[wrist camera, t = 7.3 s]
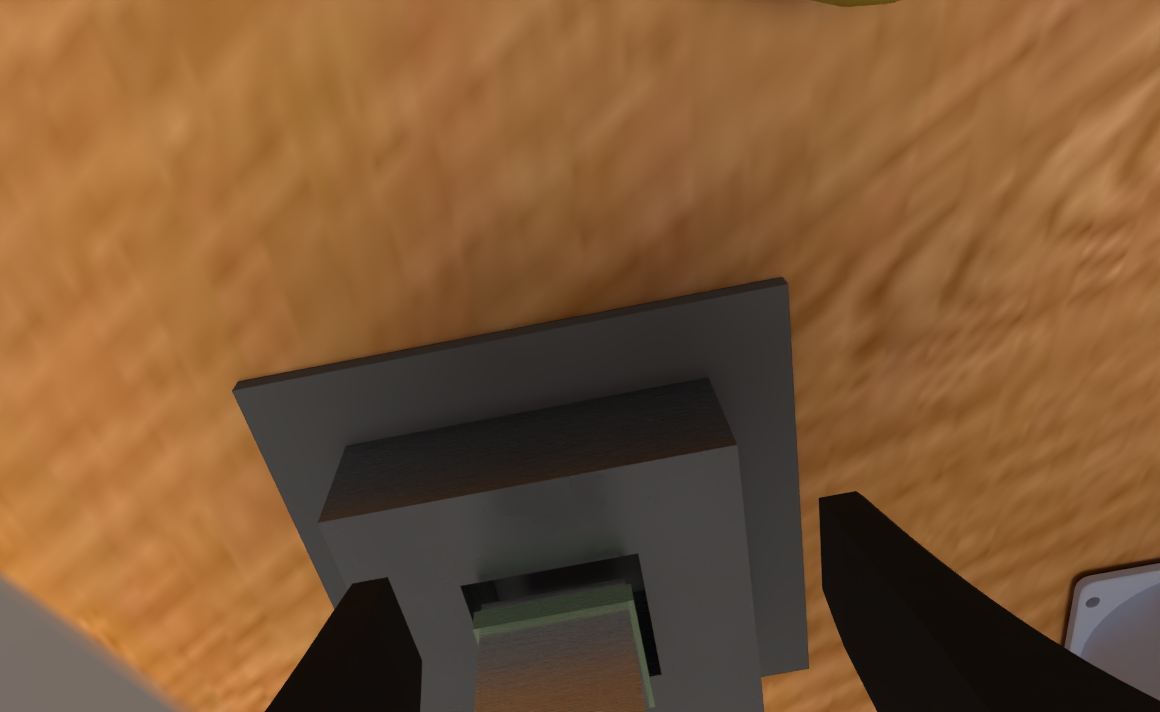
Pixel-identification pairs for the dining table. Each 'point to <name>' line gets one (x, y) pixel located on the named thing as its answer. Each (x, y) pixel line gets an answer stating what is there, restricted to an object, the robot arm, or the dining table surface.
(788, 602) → the base mat
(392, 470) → the jack housing
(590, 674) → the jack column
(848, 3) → the lemon
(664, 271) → the dining table surface
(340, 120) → the dining table surface
